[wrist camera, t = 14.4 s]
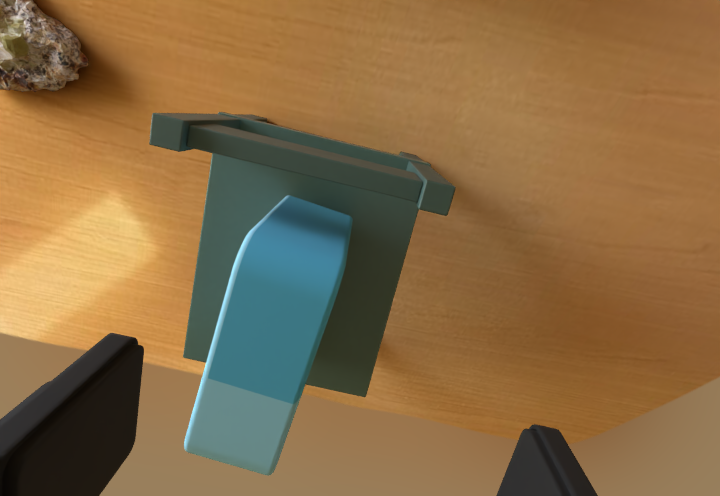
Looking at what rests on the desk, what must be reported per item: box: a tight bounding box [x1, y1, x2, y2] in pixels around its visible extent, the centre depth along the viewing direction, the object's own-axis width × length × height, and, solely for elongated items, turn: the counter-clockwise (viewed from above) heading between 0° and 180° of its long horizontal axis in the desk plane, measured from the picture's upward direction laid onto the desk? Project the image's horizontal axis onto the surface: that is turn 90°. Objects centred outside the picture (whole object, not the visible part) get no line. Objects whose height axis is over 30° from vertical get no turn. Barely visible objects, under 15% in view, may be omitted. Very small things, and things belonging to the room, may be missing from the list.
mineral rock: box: [0, 0, 88, 92], centre depth 34 cm, size 11×4×8 cm
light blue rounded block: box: [184, 195, 353, 475], centre depth 26 cm, size 12×4×12 cm, turn 161°
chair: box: [149, 112, 456, 397], centre depth 31 cm, size 14×18×17 cm
